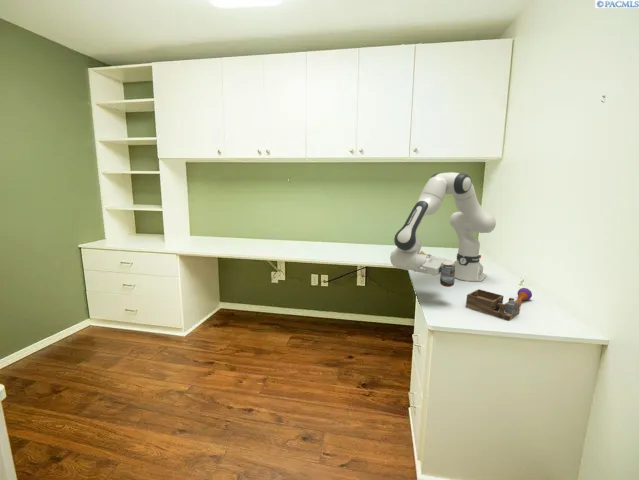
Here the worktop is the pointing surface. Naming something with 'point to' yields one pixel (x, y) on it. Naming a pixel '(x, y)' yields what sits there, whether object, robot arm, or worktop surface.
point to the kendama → (523, 295)
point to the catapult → (492, 304)
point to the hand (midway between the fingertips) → (453, 269)
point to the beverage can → (447, 273)
